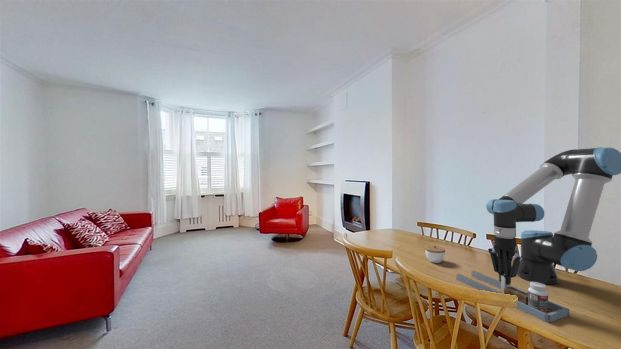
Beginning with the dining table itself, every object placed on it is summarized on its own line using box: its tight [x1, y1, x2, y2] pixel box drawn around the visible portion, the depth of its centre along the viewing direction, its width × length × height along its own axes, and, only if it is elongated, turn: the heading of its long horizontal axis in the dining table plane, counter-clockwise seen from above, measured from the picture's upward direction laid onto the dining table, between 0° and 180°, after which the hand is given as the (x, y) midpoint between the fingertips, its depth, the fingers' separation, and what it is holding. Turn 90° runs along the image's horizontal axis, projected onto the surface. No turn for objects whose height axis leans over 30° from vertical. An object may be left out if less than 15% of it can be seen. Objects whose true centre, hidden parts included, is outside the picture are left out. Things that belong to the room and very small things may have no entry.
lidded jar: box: [424, 244, 446, 264], centre depth 147 cm, size 11×11×9 cm
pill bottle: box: [527, 281, 549, 314], centre depth 96 cm, size 6×6×10 cm
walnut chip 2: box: [514, 290, 528, 305], centre depth 100 cm, size 4×4×4 cm
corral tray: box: [515, 287, 570, 324], centre depth 97 cm, size 17×12×2 cm
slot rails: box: [455, 270, 518, 294], centre depth 115 cm, size 20×12×2 cm, turn 19°
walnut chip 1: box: [503, 285, 520, 295], centre depth 104 cm, size 4×4×4 cm
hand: (505, 290), depth 107 cm, fingers closed
